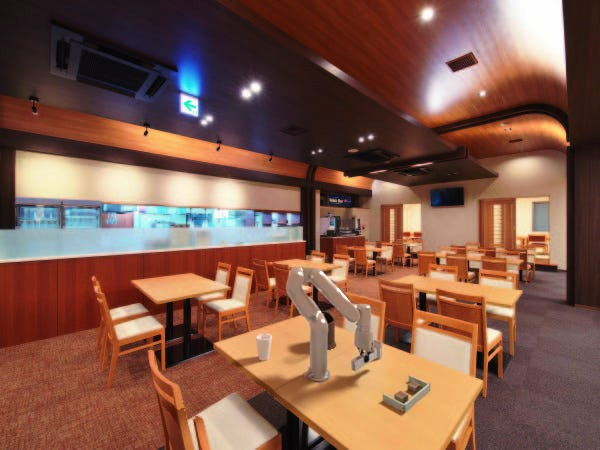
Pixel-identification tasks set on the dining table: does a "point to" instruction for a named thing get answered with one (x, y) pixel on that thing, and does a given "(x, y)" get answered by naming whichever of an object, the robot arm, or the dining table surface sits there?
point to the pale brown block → (378, 348)
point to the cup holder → (330, 330)
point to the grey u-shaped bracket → (410, 402)
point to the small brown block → (414, 387)
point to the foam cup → (264, 346)
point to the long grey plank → (362, 360)
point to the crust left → (401, 397)
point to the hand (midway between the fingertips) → (364, 360)
